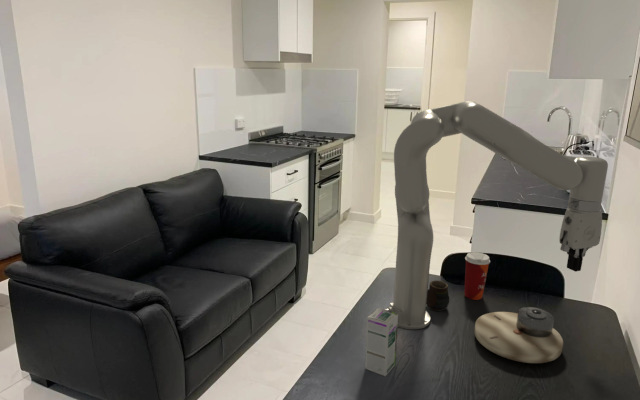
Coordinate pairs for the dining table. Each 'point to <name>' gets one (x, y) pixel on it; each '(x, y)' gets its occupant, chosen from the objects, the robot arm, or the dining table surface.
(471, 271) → the paper cup
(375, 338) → the syrup box
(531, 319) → the cover
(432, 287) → the mate gourd
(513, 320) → the turntable
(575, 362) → the dining table surface
